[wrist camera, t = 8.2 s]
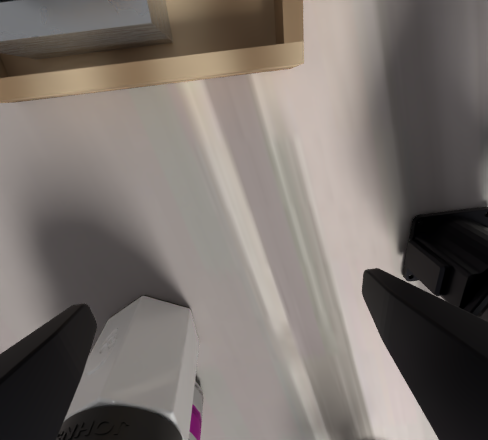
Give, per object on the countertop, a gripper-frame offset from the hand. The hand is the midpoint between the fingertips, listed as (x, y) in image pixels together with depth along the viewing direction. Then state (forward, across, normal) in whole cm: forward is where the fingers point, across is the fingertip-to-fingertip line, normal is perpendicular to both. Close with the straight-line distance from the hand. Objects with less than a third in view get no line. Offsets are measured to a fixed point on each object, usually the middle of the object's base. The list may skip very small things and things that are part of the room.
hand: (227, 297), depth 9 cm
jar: (+13, +9, +14) cm, 21 cm away
